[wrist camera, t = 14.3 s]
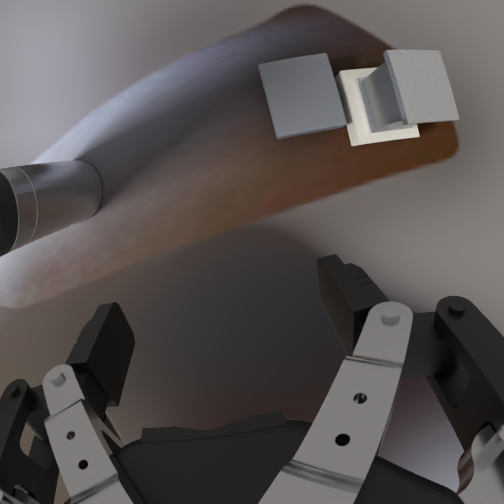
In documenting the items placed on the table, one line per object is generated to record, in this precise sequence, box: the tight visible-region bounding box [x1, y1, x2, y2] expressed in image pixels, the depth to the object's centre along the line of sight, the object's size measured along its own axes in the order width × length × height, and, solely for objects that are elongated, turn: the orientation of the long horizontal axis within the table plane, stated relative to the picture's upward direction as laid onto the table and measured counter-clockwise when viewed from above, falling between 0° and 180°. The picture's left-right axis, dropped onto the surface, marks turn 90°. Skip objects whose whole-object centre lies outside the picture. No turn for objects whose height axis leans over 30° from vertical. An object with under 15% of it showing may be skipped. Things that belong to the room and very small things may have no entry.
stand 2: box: [335, 68, 420, 146], centre depth 31 cm, size 8×9×4 cm
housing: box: [355, 50, 459, 134], centre depth 24 cm, size 6×6×11 cm
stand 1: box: [258, 53, 347, 140], centre depth 32 cm, size 8×9×4 cm
